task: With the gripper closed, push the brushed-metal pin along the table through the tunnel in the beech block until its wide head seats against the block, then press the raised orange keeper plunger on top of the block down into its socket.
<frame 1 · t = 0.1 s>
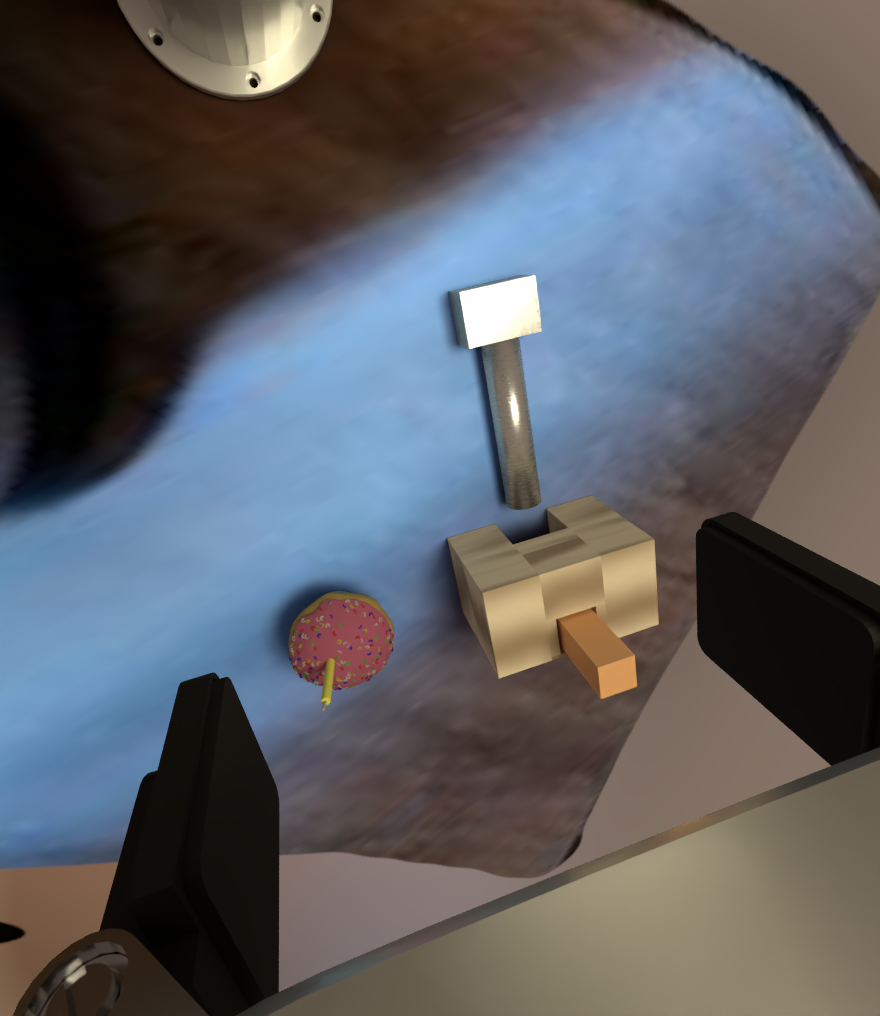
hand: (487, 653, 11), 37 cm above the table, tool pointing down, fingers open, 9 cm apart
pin: (504, 409, 49), on the table
keeper plunger: (593, 648, 44), point 12 cm above the table, slide at 2.5 cm
cupcake: (337, 611, 52), on the table
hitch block: (526, 554, 54), on the table
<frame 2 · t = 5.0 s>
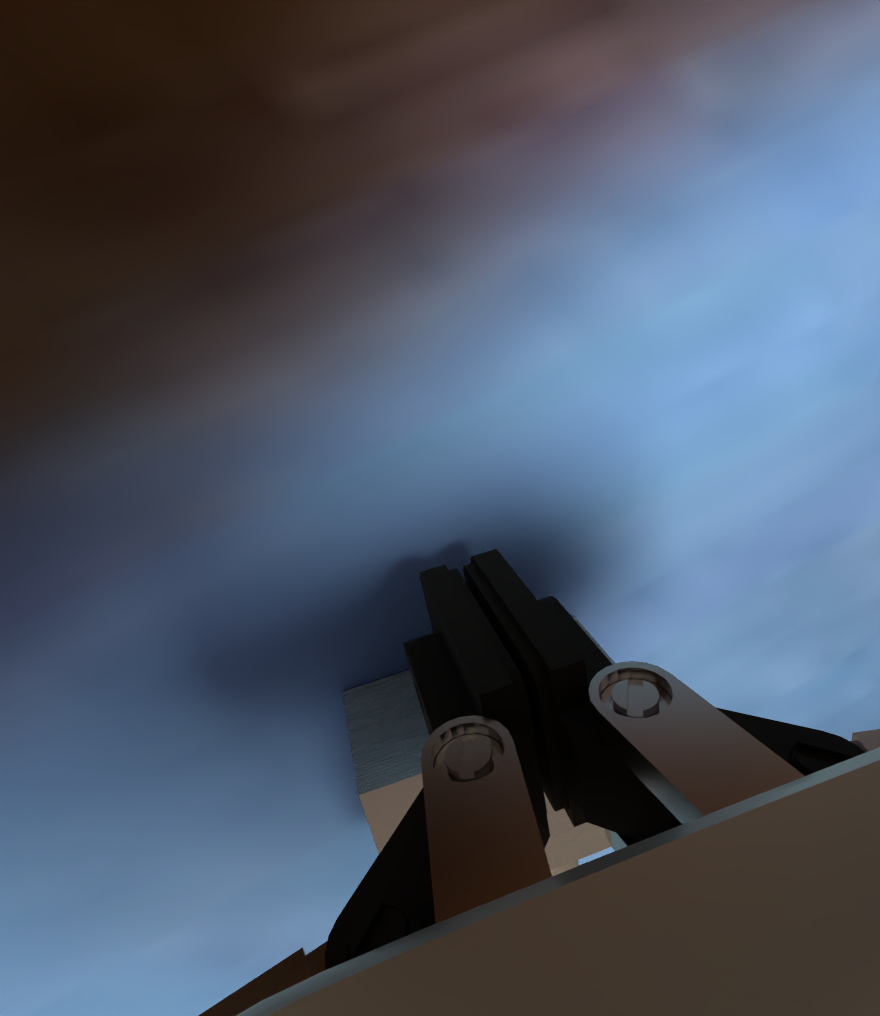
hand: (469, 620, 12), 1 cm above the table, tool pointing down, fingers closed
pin: (519, 913, 18), on the table, touching gripper
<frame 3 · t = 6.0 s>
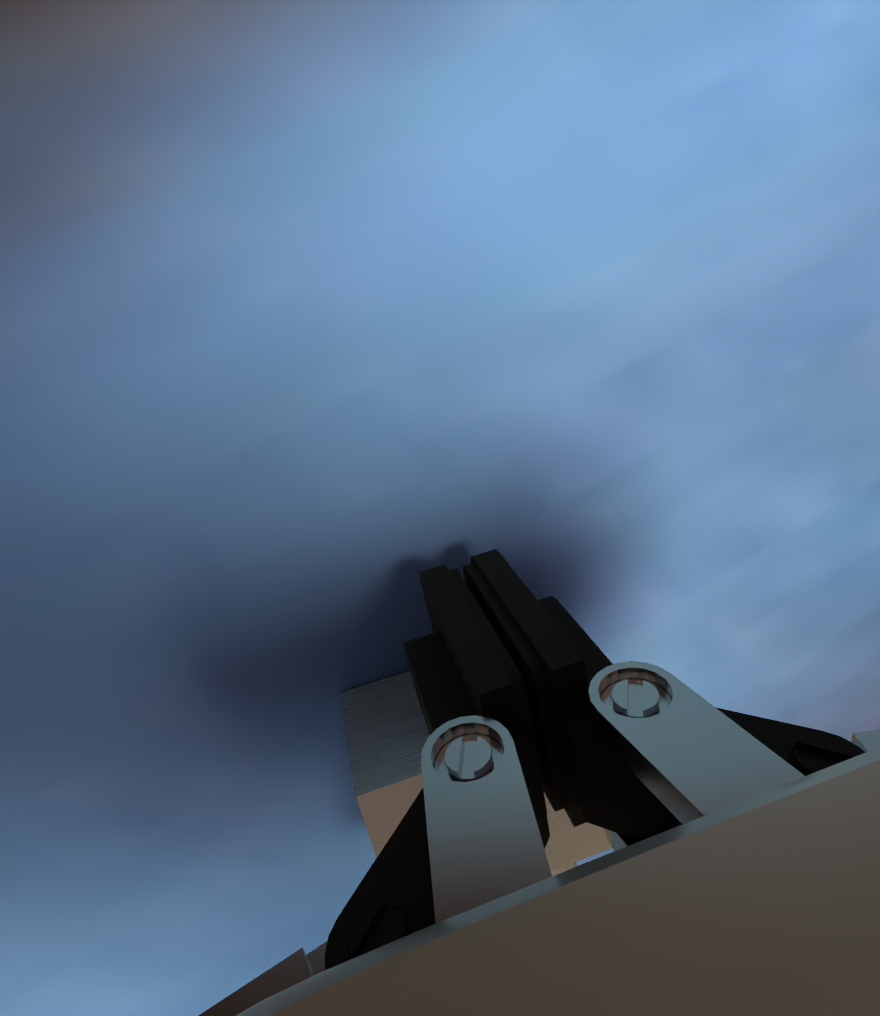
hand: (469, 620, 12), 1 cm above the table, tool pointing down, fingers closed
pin: (518, 915, 18), on the table, touching gripper
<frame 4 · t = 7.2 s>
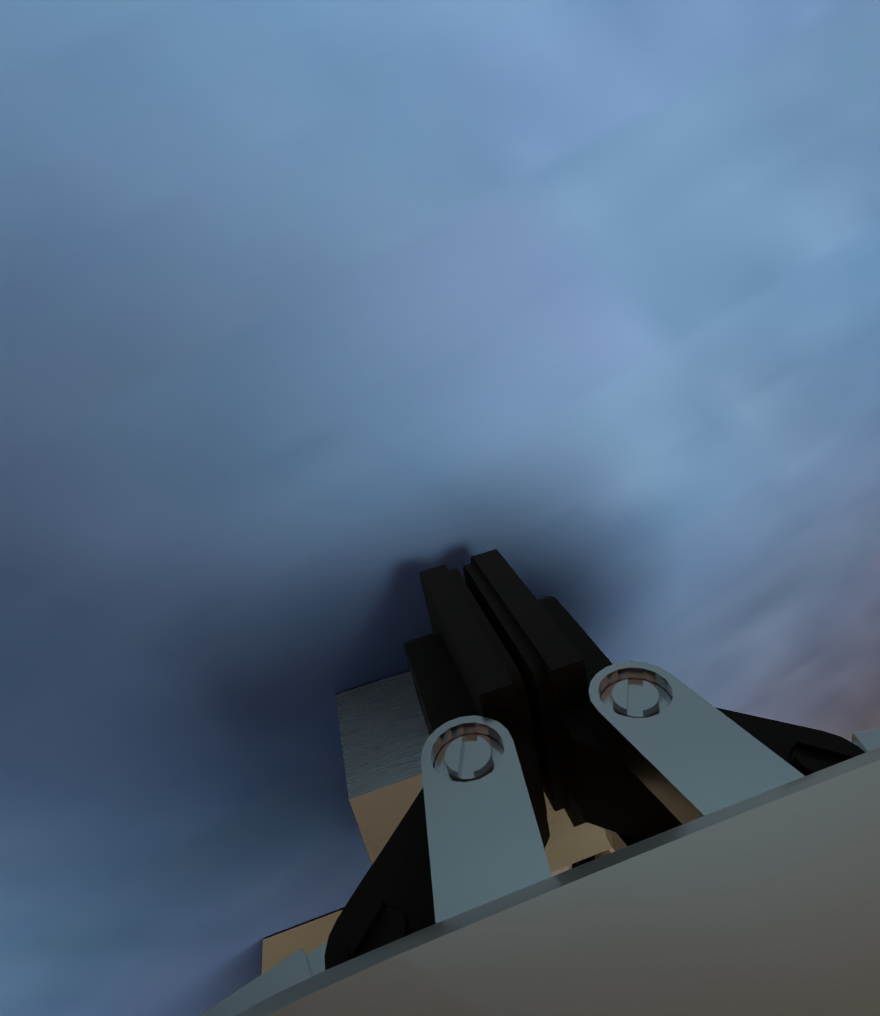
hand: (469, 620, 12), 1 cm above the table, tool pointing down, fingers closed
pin: (514, 917, 18), on the table, touching gripper
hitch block: (527, 932, 18), on the table
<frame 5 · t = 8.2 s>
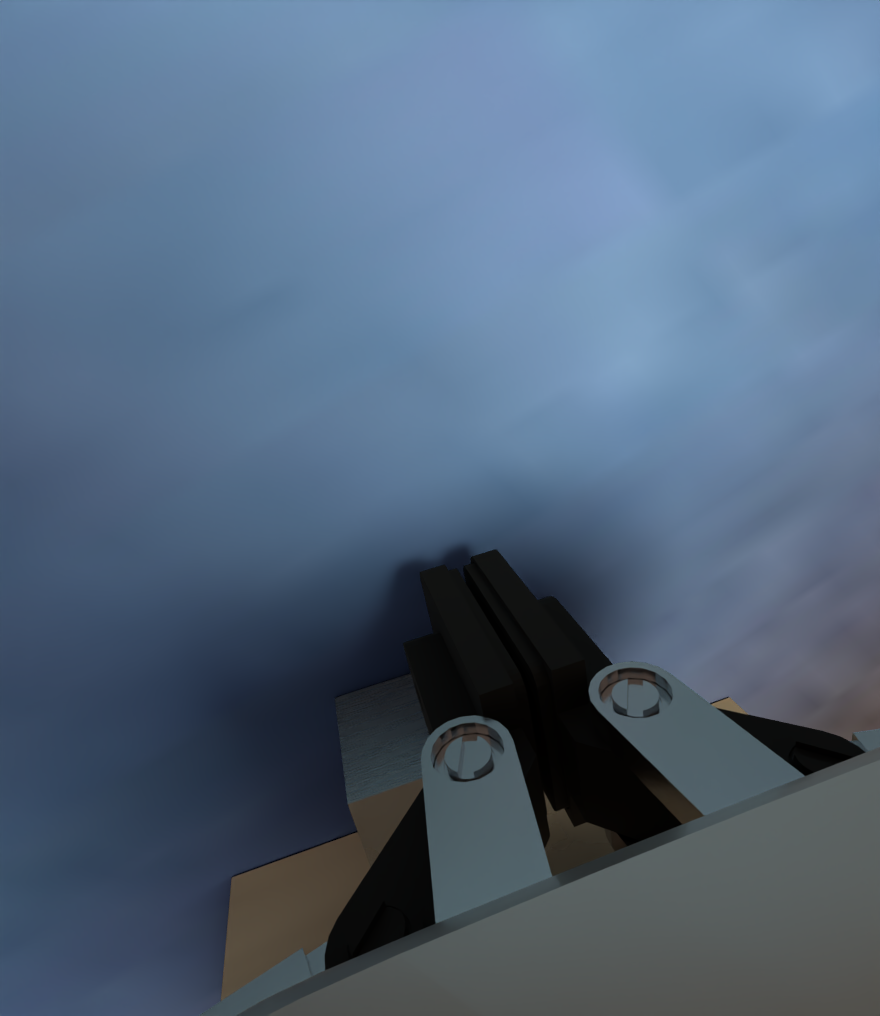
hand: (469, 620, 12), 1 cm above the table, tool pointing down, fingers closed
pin: (515, 921, 18), on the table, touching gripper
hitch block: (518, 879, 17), on the table
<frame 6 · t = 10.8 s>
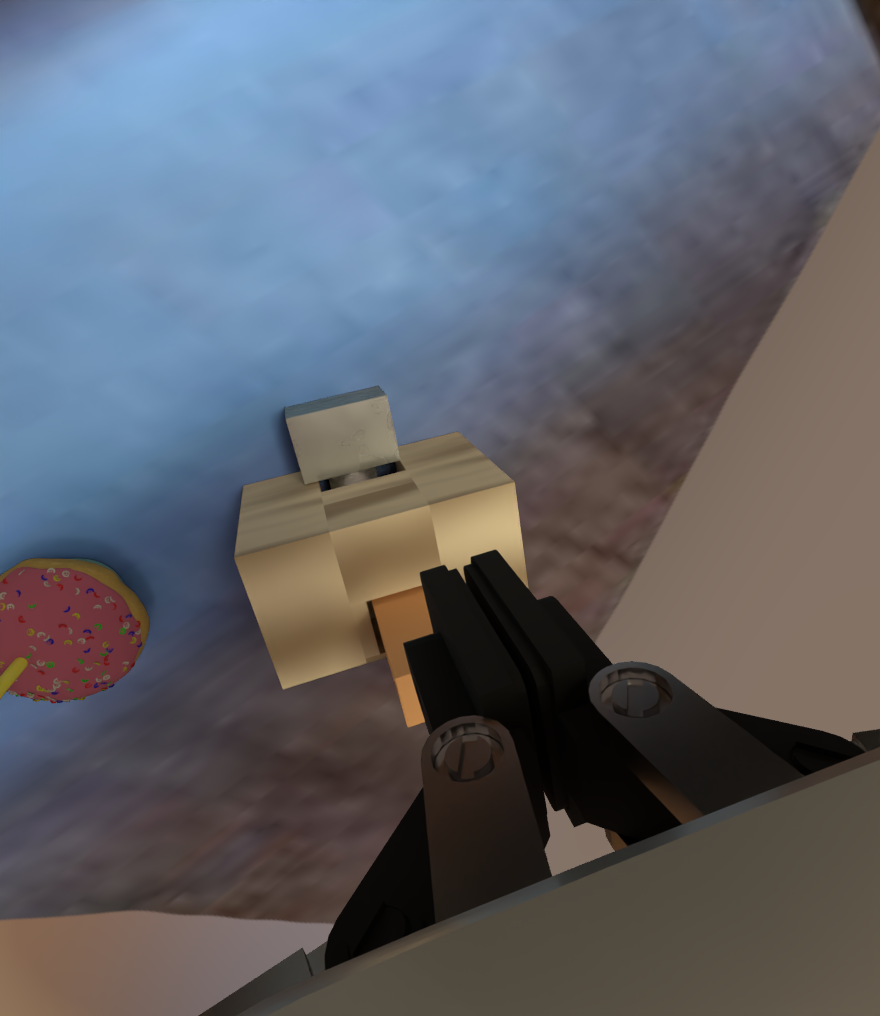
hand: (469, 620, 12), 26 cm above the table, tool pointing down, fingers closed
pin: (368, 539, 40), on the table
keeper plunger: (414, 646, 29), point 13 cm above the table, slide at 2.5 cm
cupcake: (84, 588, 36), on the table
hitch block: (368, 513, 39), on the table
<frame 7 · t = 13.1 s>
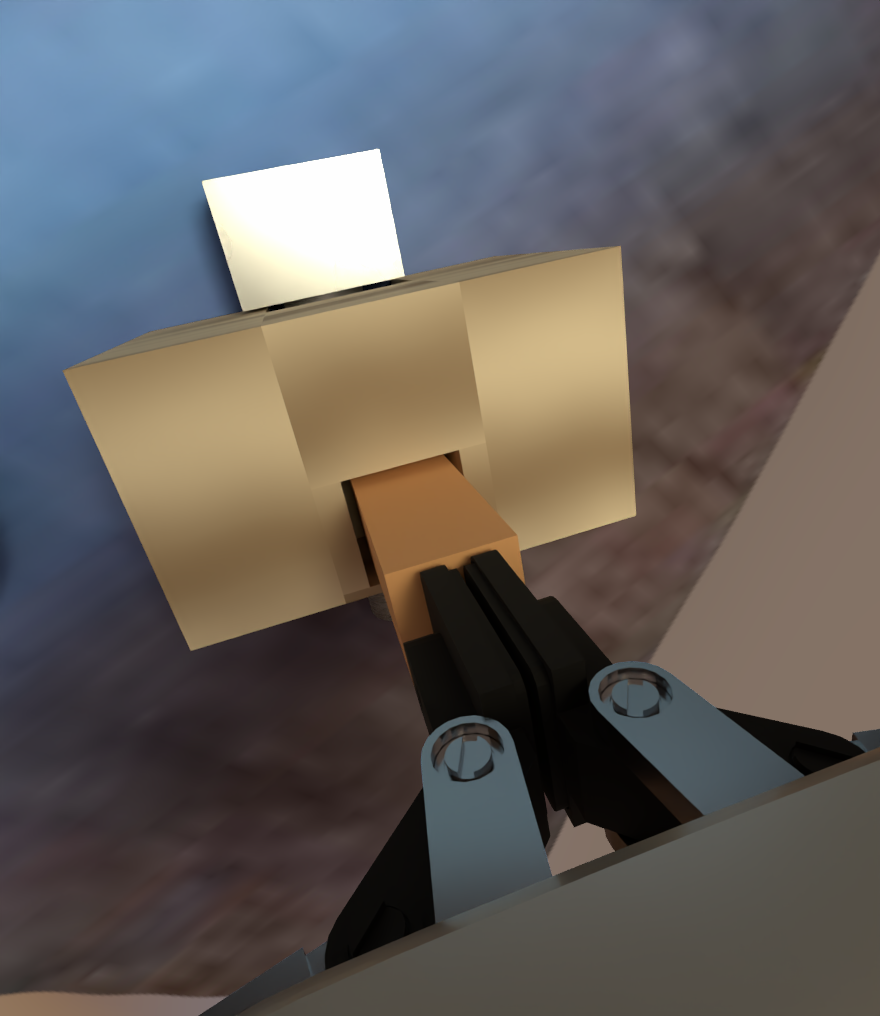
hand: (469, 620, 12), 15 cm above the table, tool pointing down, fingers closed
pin: (356, 433, 26), on the table
keeper plunger: (425, 543, 15), point 12 cm above the table, slide at 1.6 cm, touching gripper
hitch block: (354, 390, 25), on the table
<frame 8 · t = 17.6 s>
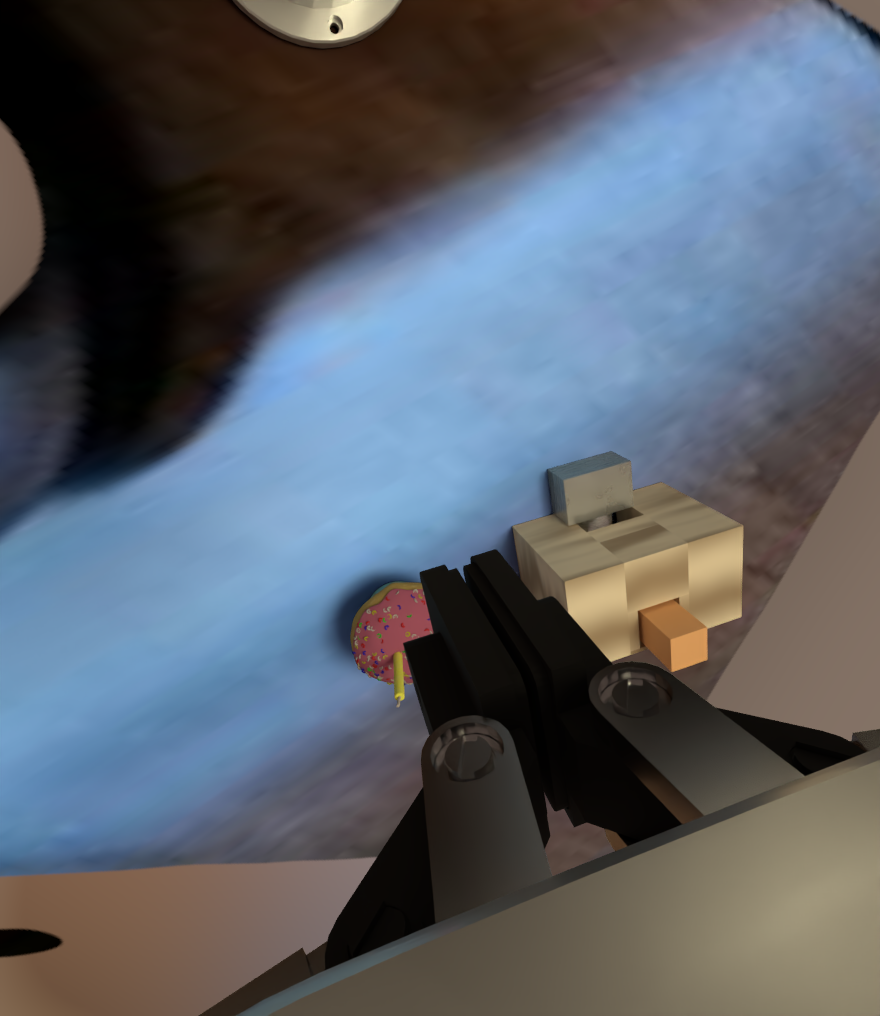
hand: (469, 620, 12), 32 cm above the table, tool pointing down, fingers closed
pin: (590, 563, 52), on the table
keeper plunger: (659, 622, 43), point 10 cm above the table, slide at 0.0 cm, touching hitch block
cupcake: (395, 603, 49), on the table
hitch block: (592, 544, 52), on the table
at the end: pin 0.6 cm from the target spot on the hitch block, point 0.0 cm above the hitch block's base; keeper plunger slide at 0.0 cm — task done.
